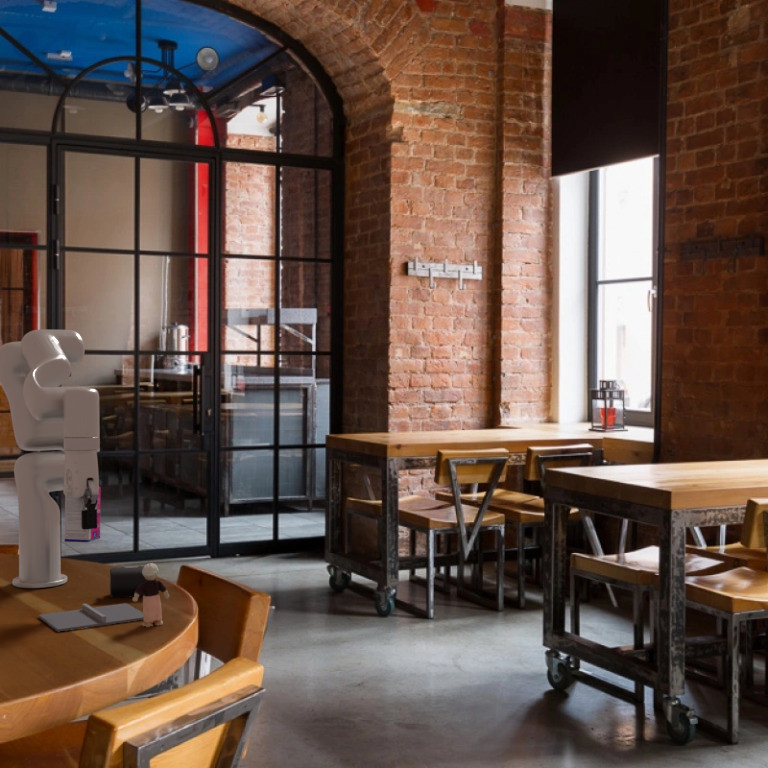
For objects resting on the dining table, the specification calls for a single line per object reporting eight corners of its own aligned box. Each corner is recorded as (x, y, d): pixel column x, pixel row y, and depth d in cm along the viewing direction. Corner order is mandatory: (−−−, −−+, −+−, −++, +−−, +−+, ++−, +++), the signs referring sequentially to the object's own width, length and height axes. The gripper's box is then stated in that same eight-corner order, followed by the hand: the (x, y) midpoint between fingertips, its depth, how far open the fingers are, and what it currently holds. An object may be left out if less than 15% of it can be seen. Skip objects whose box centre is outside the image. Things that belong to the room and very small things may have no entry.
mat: (38, 617, 223) (38, 609, 223) (126, 605, 233) (126, 597, 233) (58, 632, 211) (58, 623, 211) (149, 619, 221) (149, 610, 221)
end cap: (110, 601, 238) (110, 571, 238) (109, 594, 245) (108, 565, 244) (156, 598, 241) (155, 568, 241) (153, 591, 248) (153, 562, 247)
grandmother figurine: (161, 620, 221) (161, 559, 221) (171, 623, 218) (171, 562, 218) (128, 626, 216) (128, 564, 215) (139, 630, 213) (138, 567, 212)
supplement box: (89, 542, 226) (88, 489, 225) (63, 542, 227) (63, 488, 226) (101, 538, 231) (101, 485, 231) (76, 537, 232) (75, 485, 232)
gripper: (51, 443, 234) (52, 523, 234) (77, 448, 219) (78, 533, 220) (85, 442, 238) (86, 520, 238) (112, 446, 223) (113, 529, 224)
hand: (82, 525), depth 229 cm, fingers closed on supplement box, 8 cm apart
